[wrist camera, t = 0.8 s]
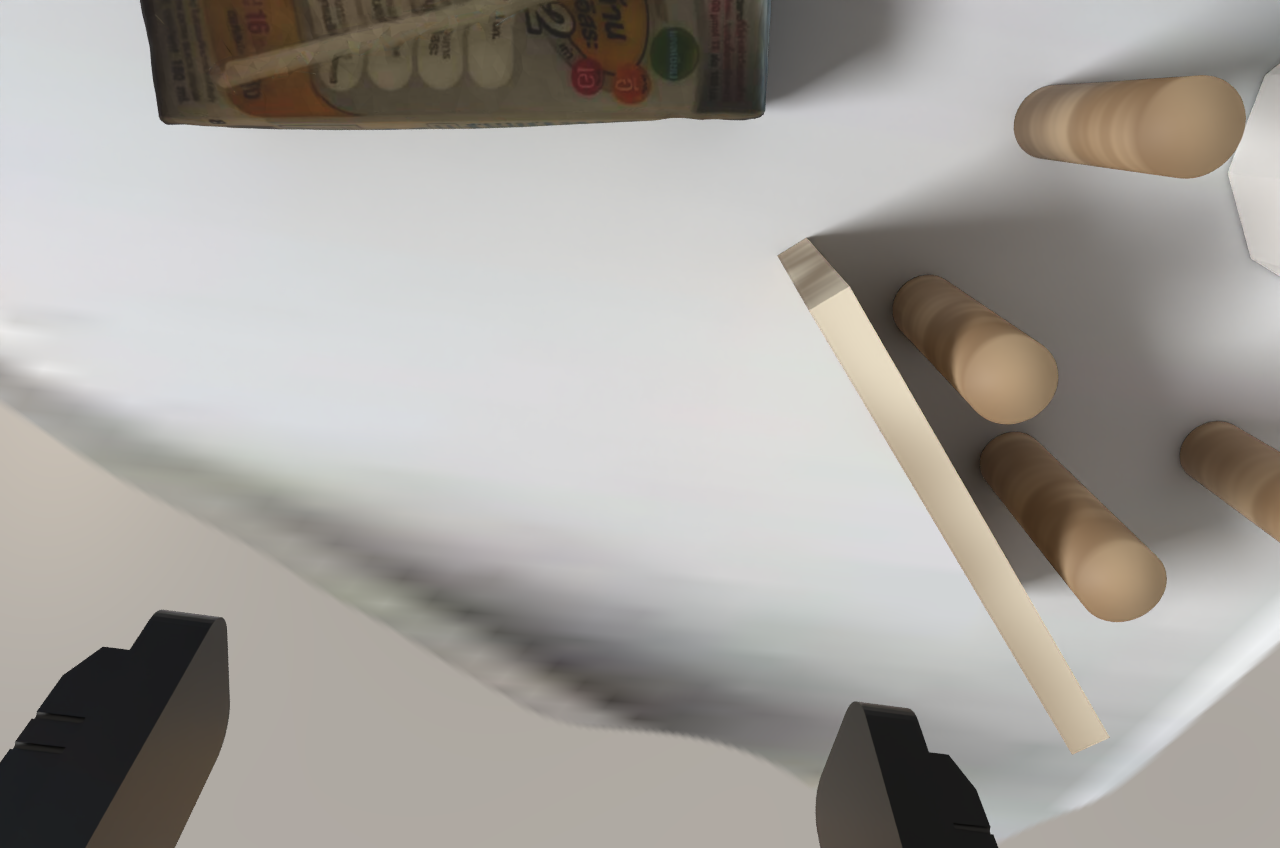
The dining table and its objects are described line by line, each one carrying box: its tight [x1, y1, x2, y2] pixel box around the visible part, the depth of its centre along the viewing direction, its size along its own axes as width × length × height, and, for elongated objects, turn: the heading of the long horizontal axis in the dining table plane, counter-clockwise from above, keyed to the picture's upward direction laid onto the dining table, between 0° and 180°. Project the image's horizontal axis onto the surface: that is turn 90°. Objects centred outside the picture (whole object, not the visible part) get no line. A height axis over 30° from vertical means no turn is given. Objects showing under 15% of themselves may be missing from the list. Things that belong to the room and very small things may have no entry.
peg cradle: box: [778, 75, 1280, 755], centre depth 31 cm, size 11×16×10 cm
